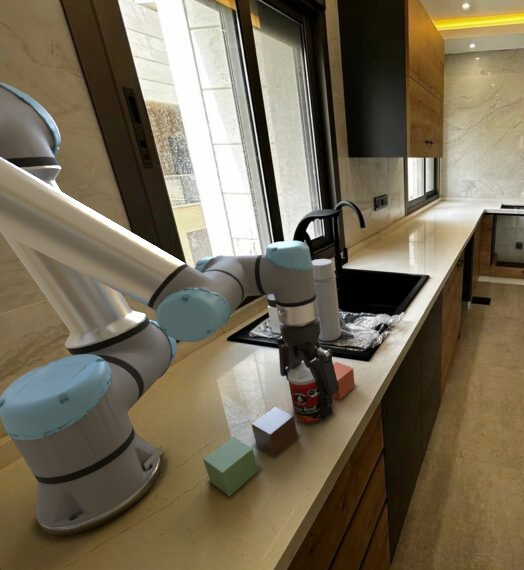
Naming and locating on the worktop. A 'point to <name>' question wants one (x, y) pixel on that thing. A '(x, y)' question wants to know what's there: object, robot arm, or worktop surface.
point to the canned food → (304, 394)
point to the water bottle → (327, 299)
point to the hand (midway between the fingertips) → (313, 409)
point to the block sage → (231, 465)
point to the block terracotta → (343, 379)
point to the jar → (273, 314)
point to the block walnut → (274, 430)
